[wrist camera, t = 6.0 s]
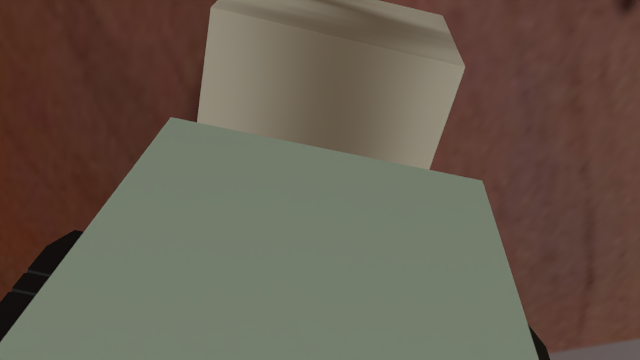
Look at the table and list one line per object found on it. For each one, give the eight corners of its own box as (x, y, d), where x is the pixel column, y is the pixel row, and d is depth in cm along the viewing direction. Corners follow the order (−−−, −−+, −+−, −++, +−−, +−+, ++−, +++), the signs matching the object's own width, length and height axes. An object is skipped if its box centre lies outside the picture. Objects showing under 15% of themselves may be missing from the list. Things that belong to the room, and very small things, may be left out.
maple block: (223, 143, 21) (184, 221, 16) (249, -32, 18) (211, 7, 13) (389, 180, 21) (394, 267, 17) (442, 14, 18) (465, 66, 14)
